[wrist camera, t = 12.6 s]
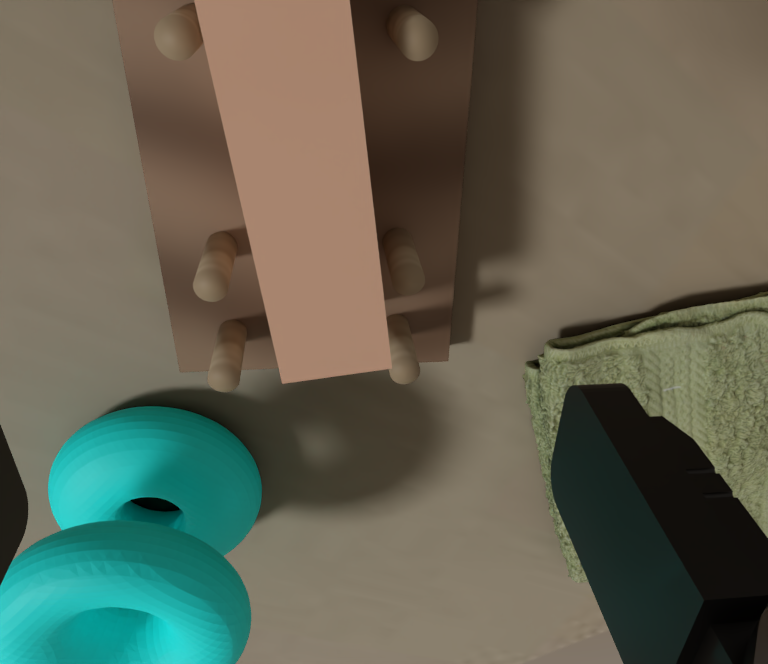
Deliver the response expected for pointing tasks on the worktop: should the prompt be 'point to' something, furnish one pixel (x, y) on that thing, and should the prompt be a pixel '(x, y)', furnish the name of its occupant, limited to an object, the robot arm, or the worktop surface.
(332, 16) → the pinkish tan rectangular block
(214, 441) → the donuts
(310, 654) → the worktop surface
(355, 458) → the worktop surface
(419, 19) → the drying rack
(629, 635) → the robot arm
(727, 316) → the washcloth
